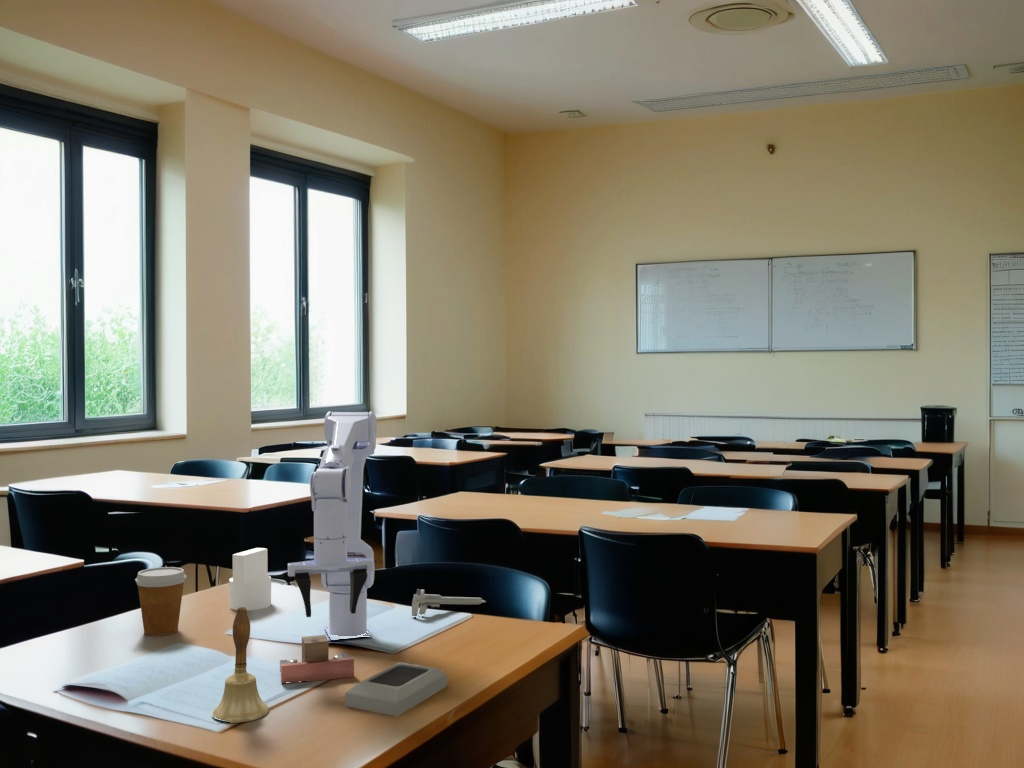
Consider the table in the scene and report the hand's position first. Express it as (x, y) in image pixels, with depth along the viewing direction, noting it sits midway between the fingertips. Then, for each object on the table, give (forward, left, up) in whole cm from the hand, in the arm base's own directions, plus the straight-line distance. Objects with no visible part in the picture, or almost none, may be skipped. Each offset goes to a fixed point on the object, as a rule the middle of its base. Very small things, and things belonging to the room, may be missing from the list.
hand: (330, 613), depth 162 cm
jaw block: (+2, -3, -10) cm, 10 cm away
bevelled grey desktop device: (+18, +8, -10) cm, 22 cm away
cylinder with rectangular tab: (-49, -11, -10) cm, 51 cm away
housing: (+3, -3, -9) cm, 10 cm away
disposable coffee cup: (-33, -29, -10) cm, 45 cm away
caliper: (-31, +30, -10) cm, 45 cm away
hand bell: (+18, -16, -10) cm, 26 cm away
